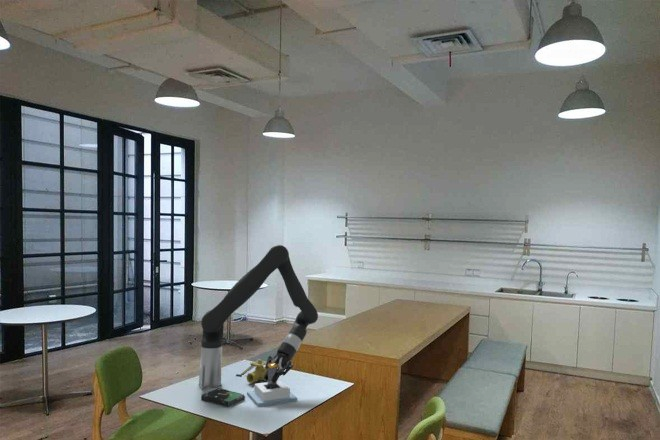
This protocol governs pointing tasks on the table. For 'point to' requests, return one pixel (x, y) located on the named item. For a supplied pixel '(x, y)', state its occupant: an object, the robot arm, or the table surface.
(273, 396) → the socket mount
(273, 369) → the gold topped tube
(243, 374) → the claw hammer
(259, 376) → the ball valve
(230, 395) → the disk drive
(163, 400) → the table surface
